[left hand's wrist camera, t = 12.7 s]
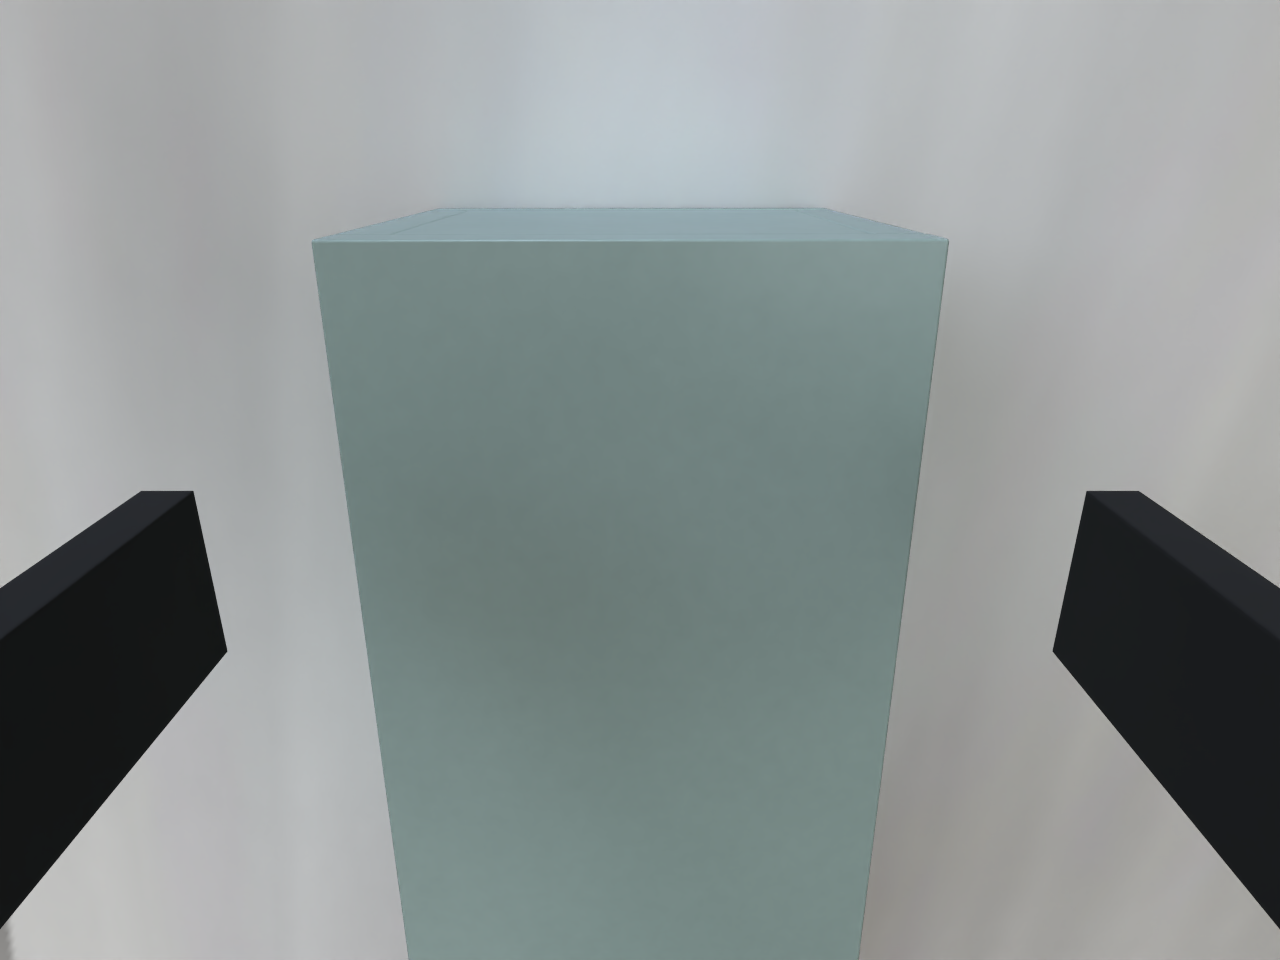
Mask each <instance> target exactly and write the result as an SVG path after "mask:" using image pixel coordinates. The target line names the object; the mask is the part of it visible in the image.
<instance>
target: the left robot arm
mask: <svg viewBox="0 0 1280 960" xmlns="http://www.w3.org/2000/svg"><path fill="white" fill-rule="evenodd" d="M226 652H227V647H226V642H225V638H224V633H223V628H222V624H221V619H220V614H219V609H218V605H217V600H216V595H215V591H214V586H213V581H212V577H211V572H210V567H209V562H208V558H207V553H206V548H205V544H204V539H203V534H202V529H201V525H200V520H199V515H198V511H197V506H196V501H195V497H194V492H193V491H141V492H139V493H138V494H136V495H135V496H133V497H132V498H130V499H129V500H128V501H126V502H125V503H123V504H122V505H120V506H119V507H117V508H116V509H115V510H113V511H112V512H110V513H109V514H107V515H106V516H104V517H103V518H101V519H100V520H99V521H97V522H96V523H94V524H93V525H91V526H90V527H88V528H87V529H86V530H84V531H83V532H81V533H80V534H78V535H77V536H75V537H74V538H72V539H71V540H70V541H68V542H67V543H65V544H64V545H62V546H61V547H59V548H58V549H57V550H55V551H54V552H52V553H51V554H49V555H48V556H46V557H45V558H43V559H42V560H41V561H39V562H38V563H36V564H35V565H33V566H32V567H30V568H29V569H28V570H26V571H25V572H23V573H22V574H20V575H19V576H17V577H16V578H14V579H13V580H12V581H10V582H9V583H7V584H6V585H4V586H3V587H1V588H0V929H1V927H2V926H3V925H4V924H5V923H6V921H7V920H8V919H9V918H10V916H11V915H12V914H13V913H14V912H15V910H16V909H17V908H18V907H19V905H20V904H21V903H22V902H23V901H24V899H25V898H26V897H27V896H28V894H29V893H30V892H31V891H32V890H33V888H34V887H35V886H36V885H37V883H38V882H39V881H40V880H41V879H42V877H43V876H44V875H45V874H46V872H47V871H48V870H49V869H50V868H51V866H52V865H53V864H54V863H55V861H56V860H57V859H58V858H59V857H60V855H61V854H62V853H63V852H64V850H65V849H66V848H67V847H68V846H69V844H70V843H71V842H72V841H73V839H74V838H75V837H76V836H77V835H78V833H79V832H80V831H81V830H82V828H83V827H84V826H85V825H86V824H87V822H88V821H89V820H90V819H91V817H92V816H93V815H94V814H95V813H96V811H97V810H98V809H99V808H100V806H101V805H102V804H103V803H104V802H105V800H106V799H107V798H108V797H109V795H110V794H111V793H112V792H113V791H114V789H115V788H116V787H117V786H118V784H119V783H120V782H121V781H122V780H123V778H124V777H125V776H126V775H127V773H128V772H129V771H130V770H131V769H132V767H133V766H134V765H135V764H136V762H137V761H138V760H139V759H140V758H141V756H142V755H143V754H144V753H145V751H146V750H147V749H148V748H149V747H150V745H151V744H152V743H153V742H154V740H155V739H156V738H157V737H158V736H159V734H160V733H161V732H162V731H163V729H164V728H165V727H166V726H167V725H168V723H169V722H170V721H171V720H172V718H173V717H174V716H175V715H176V714H177V712H178V711H179V710H180V709H181V707H182V706H183V705H184V704H185V703H186V701H187V700H188V699H189V698H190V696H191V695H192V694H193V693H194V692H195V690H196V689H197V688H198V687H199V685H200V684H201V683H202V682H203V681H204V679H205V678H206V677H207V676H208V674H209V673H210V672H211V671H212V670H213V668H214V667H215V666H216V665H217V663H218V662H219V661H220V660H221V659H222V657H223V656H224V655H225V654H226ZM1053 652H1054V654H1055V655H1056V656H1057V657H1058V659H1059V660H1060V661H1061V662H1062V663H1063V665H1064V666H1065V667H1066V668H1067V670H1068V671H1069V672H1070V673H1071V674H1072V676H1073V677H1074V678H1075V679H1076V681H1077V682H1078V683H1079V684H1080V685H1081V687H1082V688H1083V689H1084V690H1085V692H1086V693H1087V694H1088V695H1089V696H1090V698H1091V699H1092V700H1093V701H1094V703H1095V704H1096V705H1097V706H1098V707H1099V709H1100V710H1101V711H1102V712H1103V714H1104V715H1105V716H1106V717H1107V718H1108V720H1109V721H1110V722H1111V723H1112V725H1113V726H1114V727H1115V728H1116V729H1117V731H1118V732H1119V733H1120V734H1121V736H1122V737H1123V738H1124V739H1125V740H1126V742H1127V743H1128V744H1129V745H1130V747H1131V748H1132V749H1133V750H1134V751H1135V753H1136V754H1137V755H1138V756H1139V758H1140V759H1141V760H1142V761H1143V762H1144V764H1145V765H1146V766H1147V767H1148V769H1149V770H1150V771H1151V772H1152V773H1153V775H1154V776H1155V777H1156V778H1157V780H1158V781H1159V782H1160V783H1161V784H1162V786H1163V787H1164V788H1165V789H1166V791H1167V792H1168V793H1169V794H1170V795H1171V797H1172V798H1173V799H1174V800H1175V802H1176V803H1177V804H1178V805H1179V806H1180V808H1181V809H1182V810H1183V811H1184V813H1185V814H1186V815H1187V816H1188V817H1189V819H1190V820H1191V821H1192V822H1193V824H1194V825H1195V826H1196V827H1197V828H1198V830H1199V831H1200V832H1201V833H1202V835H1203V836H1204V837H1205V838H1206V839H1207V841H1208V842H1209V843H1210V844H1211V846H1212V847H1213V848H1214V849H1215V850H1216V852H1217V853H1218V854H1219V855H1220V857H1221V858H1222V859H1223V860H1224V861H1225V863H1226V864H1227V865H1228V866H1229V868H1230V869H1231V870H1232V871H1233V872H1234V874H1235V875H1236V876H1237V877H1238V879H1239V880H1240V881H1241V882H1242V883H1243V885H1244V886H1245V887H1246V888H1247V890H1248V891H1249V892H1250V893H1251V894H1252V896H1253V897H1254V898H1255V899H1256V901H1257V902H1258V903H1259V904H1260V905H1261V907H1262V908H1263V909H1264V910H1265V912H1266V913H1267V914H1268V915H1269V916H1270V918H1271V919H1272V920H1273V921H1274V923H1275V924H1276V925H1277V926H1278V927H1279V929H1280V588H1279V587H1277V586H1276V585H1274V584H1273V583H1271V582H1270V581H1268V580H1267V579H1266V578H1264V577H1263V576H1261V575H1260V574H1258V573H1257V572H1255V571H1254V570H1252V569H1251V568H1250V567H1248V566H1247V565H1245V564H1244V563H1242V562H1241V561H1239V560H1238V559H1237V558H1235V557H1234V556H1232V555H1231V554H1229V553H1228V552H1226V551H1225V550H1223V549H1222V548H1221V547H1219V546H1218V545H1216V544H1215V543H1213V542H1212V541H1210V540H1209V539H1208V538H1206V537H1205V536H1203V535H1202V534H1200V533H1199V532H1197V531H1196V530H1194V529H1193V528H1192V527H1190V526H1189V525H1187V524H1186V523H1184V522H1183V521H1181V520H1180V519H1179V518H1177V517H1176V516H1174V515H1173V514H1171V513H1170V512H1168V511H1167V510H1165V509H1164V508H1163V507H1161V506H1160V505H1158V504H1157V503H1155V502H1154V501H1152V500H1151V499H1150V498H1148V497H1147V496H1145V495H1144V494H1142V493H1141V492H1139V491H1087V492H1086V497H1085V501H1084V506H1083V511H1082V515H1081V520H1080V525H1079V529H1078V534H1077V539H1076V544H1075V548H1074V553H1073V558H1072V562H1071V567H1070V572H1069V577H1068V581H1067V586H1066V591H1065V595H1064V600H1063V605H1062V609H1061V614H1060V619H1059V624H1058V628H1057V633H1056V638H1055V642H1054V647H1053Z"/></svg>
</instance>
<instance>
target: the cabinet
mask: <svg viewBox="0 0 1280 960" xmlns="http://www.w3.org/2000/svg"><path fill="white" fill-rule="evenodd" d="M948 244H949V240H948V239H946V238H942V237H938V236H934V235H930V234H923V233H920V232H916V231H912V230H908V229H904V228H900V227H896V226H892V225H888V224H884V223H880V222H876V221H872V220H868V219H864V218H860V217H856V216H852V215H848V214H844V213H840V212H836V211H833V210H829V209H825V208H605V209H435V210H431V211H426V212H422V213H418V214H414V215H410V216H406V217H402V218H398V219H394V220H390V221H386V222H382V223H378V224H374V225H370V226H366V227H362V228H358V229H354V230H350V231H346V232H342V233H338V234H335V235H330V236H326V237H322V238H318V239H314V240H312V248H313V256H314V263H315V271H316V278H317V285H318V293H319V300H320V307H321V315H322V322H323V330H324V337H325V344H326V352H327V359H328V367H329V374H330V381H331V389H332V396H333V403H334V411H335V418H336V426H337V433H338V440H339V448H340V455H341V462H342V470H343V477H344V485H345V492H346V499H347V507H348V514H349V522H350V529H351V536H352V544H353V551H354V558H355V566H356V573H357V581H358V588H359V595H360V603H361V610H362V617H363V625H364V632H365V640H366V647H367V654H368V662H369V669H370V677H371V684H372V691H373V699H374V706H375V713H376V721H377V728H378V736H379V743H380V750H381V758H382V765H383V772H384V780H385V787H386V795H387V802H388V809H389V817H390V824H391V832H392V839H393V846H394V854H395V861H396V868H397V876H398V883H399V891H400V898H401V905H402V913H403V920H404V927H405V935H406V942H407V950H408V957H409V960H858V959H859V951H860V943H861V935H862V927H863V919H864V911H865V903H866V895H867V887H868V879H869V871H870V863H871V855H872V847H873V840H874V832H875V824H876V816H877V808H878V800H879V792H880V784H881V776H882V768H883V760H884V752H885V744H886V736H887V728H888V721H889V713H890V705H891V697H892V689H893V681H894V673H895V665H896V657H897V649H898V641H899V633H900V625H901V617H902V609H903V602H904V594H905V586H906V578H907V570H908V562H909V554H910V546H911V538H912V530H913V522H914V514H915V506H916V498H917V490H918V482H919V475H920V467H921V459H922V451H923V443H924V435H925V427H926V419H927V411H928V403H929V395H930V387H931V379H932V371H933V363H934V356H935V348H936V340H937V332H938V324H939V316H940V308H941V300H942V292H943V284H944V276H945V268H946V260H947V252H948Z"/></svg>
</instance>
